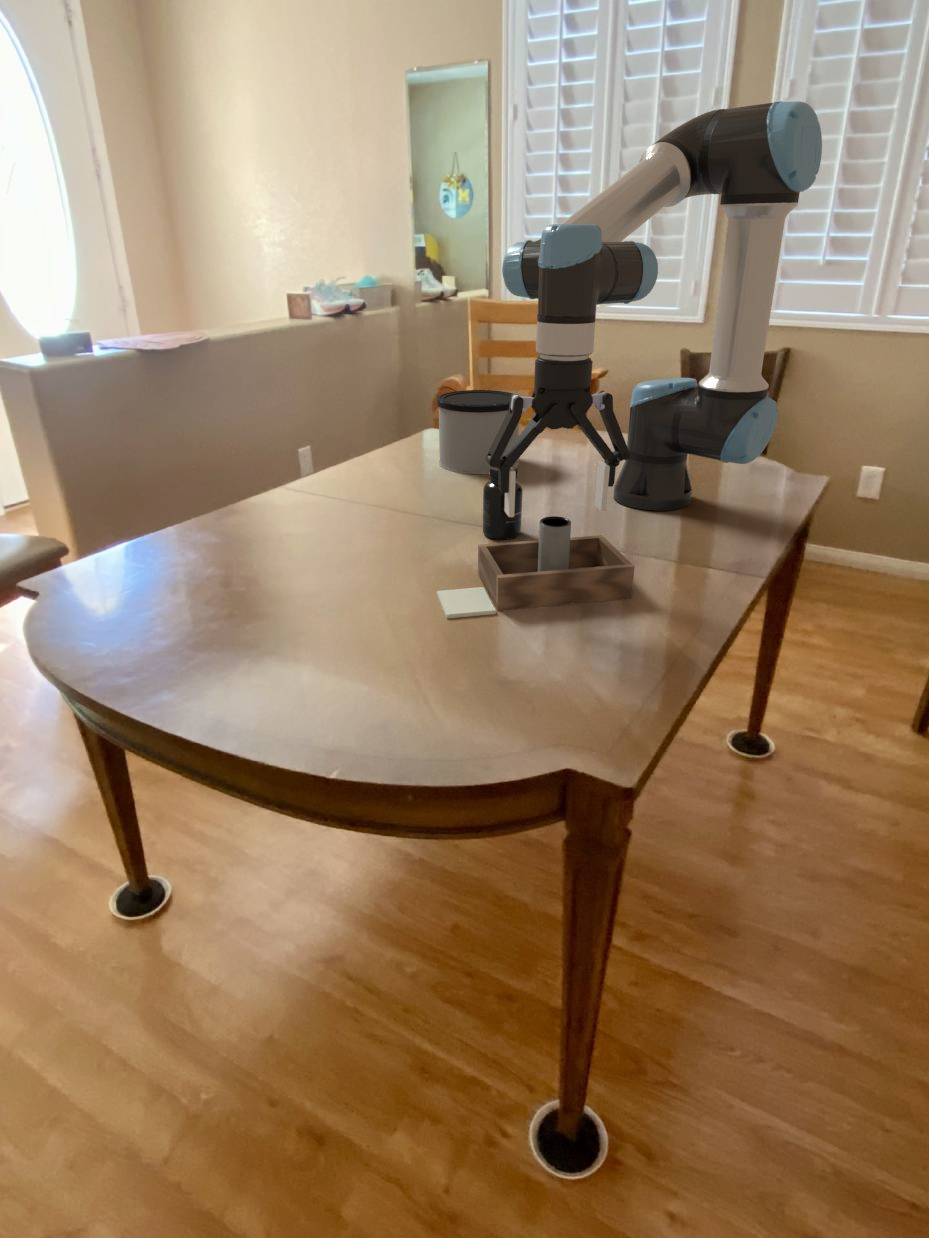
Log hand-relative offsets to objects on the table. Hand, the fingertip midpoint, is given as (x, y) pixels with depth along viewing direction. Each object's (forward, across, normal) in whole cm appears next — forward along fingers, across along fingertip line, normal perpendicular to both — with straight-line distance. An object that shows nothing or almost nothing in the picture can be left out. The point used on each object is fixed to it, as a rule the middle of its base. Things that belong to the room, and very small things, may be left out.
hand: (555, 511), depth 110 cm
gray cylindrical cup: (+12, 0, 0) cm, 12 cm away
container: (+12, -4, -71) cm, 72 cm away
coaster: (+12, +14, +3) cm, 19 cm away
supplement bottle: (+12, +2, -24) cm, 27 cm away
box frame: (+12, 0, 0) cm, 12 cm away
